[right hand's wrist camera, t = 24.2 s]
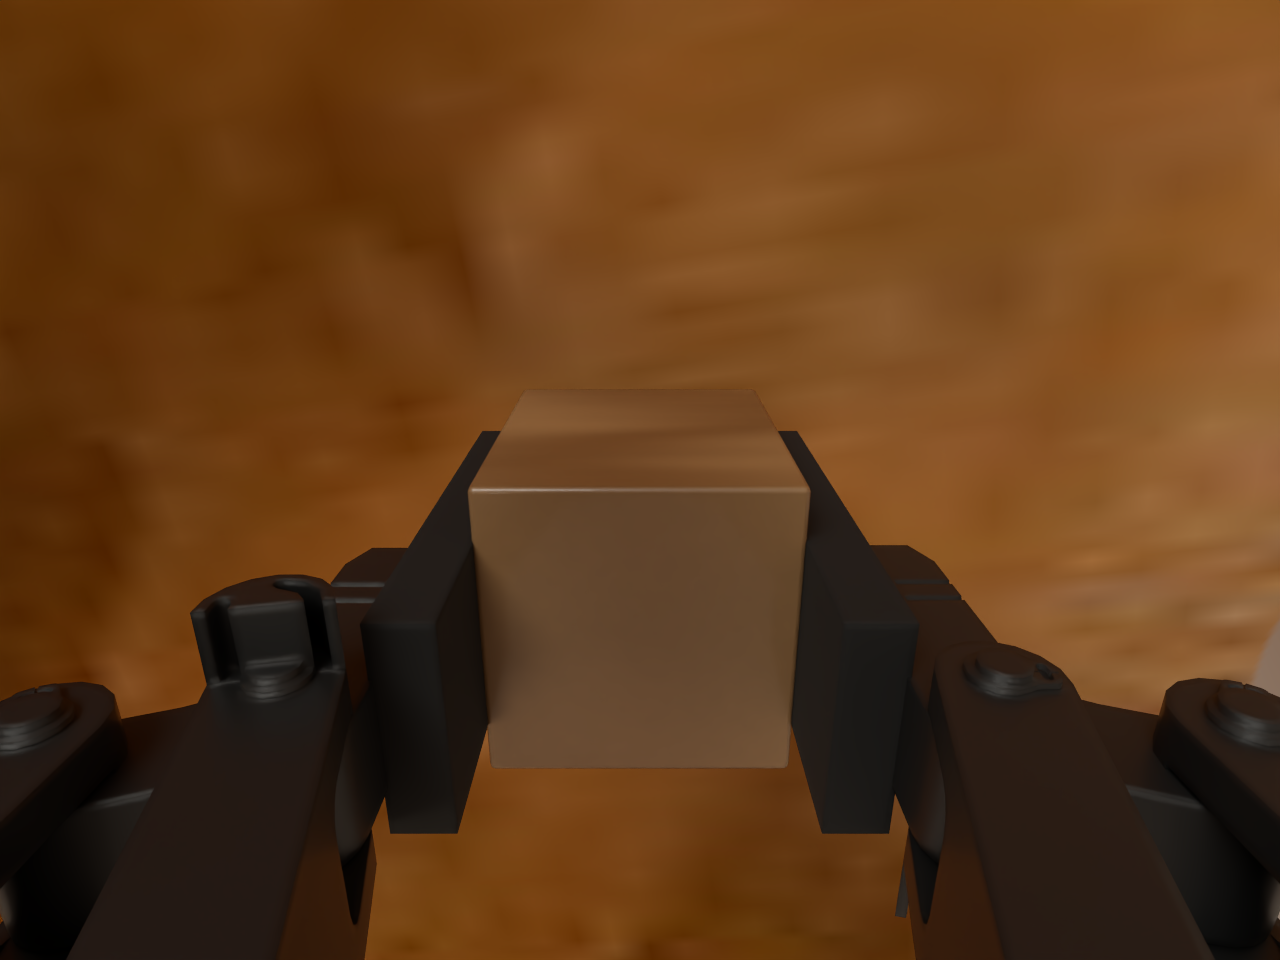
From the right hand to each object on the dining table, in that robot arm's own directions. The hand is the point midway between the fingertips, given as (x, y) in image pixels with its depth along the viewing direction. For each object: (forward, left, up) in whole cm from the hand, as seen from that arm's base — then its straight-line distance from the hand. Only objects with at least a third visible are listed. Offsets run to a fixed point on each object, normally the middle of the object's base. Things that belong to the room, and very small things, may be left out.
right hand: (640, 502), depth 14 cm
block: (0, 0, 0) cm, 0 cm away
